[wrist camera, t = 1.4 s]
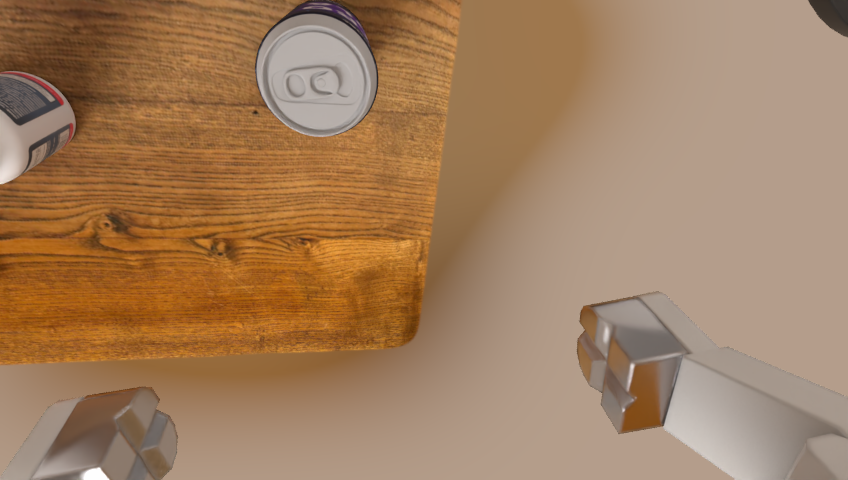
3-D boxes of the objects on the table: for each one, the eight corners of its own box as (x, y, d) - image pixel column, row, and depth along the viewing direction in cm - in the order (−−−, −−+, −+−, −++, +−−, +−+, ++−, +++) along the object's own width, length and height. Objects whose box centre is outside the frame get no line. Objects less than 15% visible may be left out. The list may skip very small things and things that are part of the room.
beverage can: (372, 85, 32) (386, 137, 22) (291, 93, 32) (268, 151, 22) (361, -6, 30) (371, 8, 19) (272, 2, 29) (234, 20, 19)
